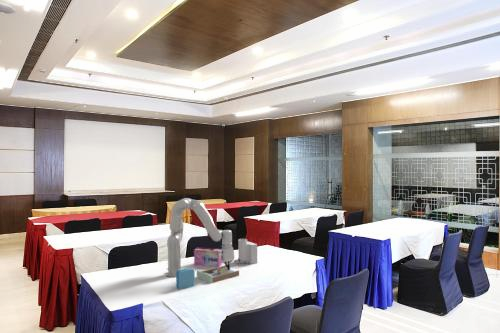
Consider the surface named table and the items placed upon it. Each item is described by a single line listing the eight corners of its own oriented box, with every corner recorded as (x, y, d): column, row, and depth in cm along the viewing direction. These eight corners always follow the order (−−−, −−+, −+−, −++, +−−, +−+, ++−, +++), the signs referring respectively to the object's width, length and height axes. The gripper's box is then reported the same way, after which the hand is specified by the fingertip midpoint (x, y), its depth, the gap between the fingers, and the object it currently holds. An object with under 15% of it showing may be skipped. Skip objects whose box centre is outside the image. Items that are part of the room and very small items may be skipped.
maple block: (217, 272, 268) (217, 267, 268) (223, 271, 272) (223, 265, 272) (221, 274, 264) (221, 268, 264) (227, 272, 268) (227, 267, 268)
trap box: (196, 277, 264) (196, 270, 264) (224, 270, 282) (224, 263, 282) (211, 283, 250) (211, 276, 250) (239, 275, 267) (239, 268, 267)
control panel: (257, 262, 301) (257, 239, 301) (239, 266, 291) (239, 242, 291) (247, 258, 315) (246, 236, 315) (229, 262, 304) (229, 239, 304)
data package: (191, 284, 249) (191, 267, 249) (194, 285, 245) (194, 268, 245) (176, 287, 241) (176, 270, 241) (179, 289, 238) (178, 272, 238)
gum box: (192, 265, 297) (192, 249, 297) (196, 262, 304) (196, 247, 304) (218, 267, 290) (218, 250, 290) (222, 264, 298) (221, 248, 298)
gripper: (222, 248, 264) (222, 272, 264) (237, 245, 274) (238, 268, 274) (216, 247, 270) (217, 270, 270) (231, 243, 280) (232, 266, 280)
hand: (227, 269), depth 272 cm, fingers closed
